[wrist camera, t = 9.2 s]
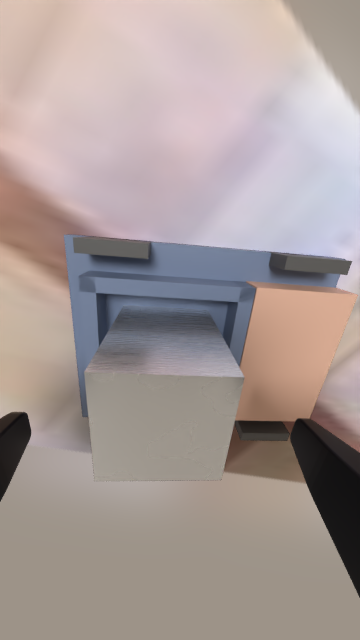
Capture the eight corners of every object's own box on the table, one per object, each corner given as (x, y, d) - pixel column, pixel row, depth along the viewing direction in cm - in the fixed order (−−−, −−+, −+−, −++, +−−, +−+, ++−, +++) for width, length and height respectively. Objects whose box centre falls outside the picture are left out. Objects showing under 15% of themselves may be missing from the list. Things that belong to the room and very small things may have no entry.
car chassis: (87, 405, 15) (72, 438, 13) (72, 234, 11) (46, 235, 9) (281, 410, 16) (302, 440, 14) (331, 257, 12) (372, 263, 10)
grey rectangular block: (124, 376, 13) (94, 481, 8) (124, 305, 12) (83, 371, 6) (198, 378, 14) (221, 480, 8) (208, 309, 12) (244, 377, 6)
